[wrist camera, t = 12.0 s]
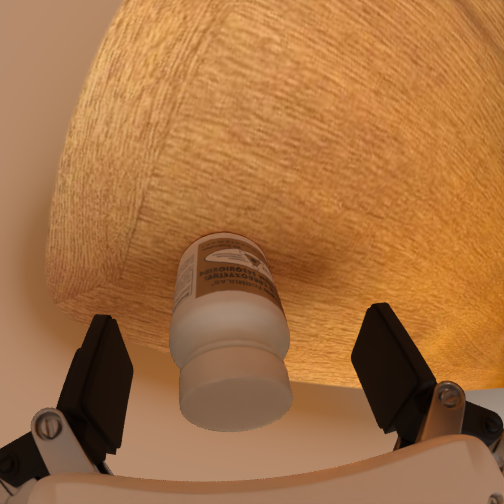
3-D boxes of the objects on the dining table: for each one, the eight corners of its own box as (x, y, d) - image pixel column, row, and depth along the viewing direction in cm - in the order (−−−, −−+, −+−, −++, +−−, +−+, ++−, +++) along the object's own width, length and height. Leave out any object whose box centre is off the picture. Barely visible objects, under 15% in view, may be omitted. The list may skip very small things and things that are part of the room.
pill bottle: (283, 251, 15) (338, 381, 8) (241, 314, 16) (262, 443, 10) (201, 214, 13) (195, 347, 6) (165, 287, 15) (147, 424, 8)
